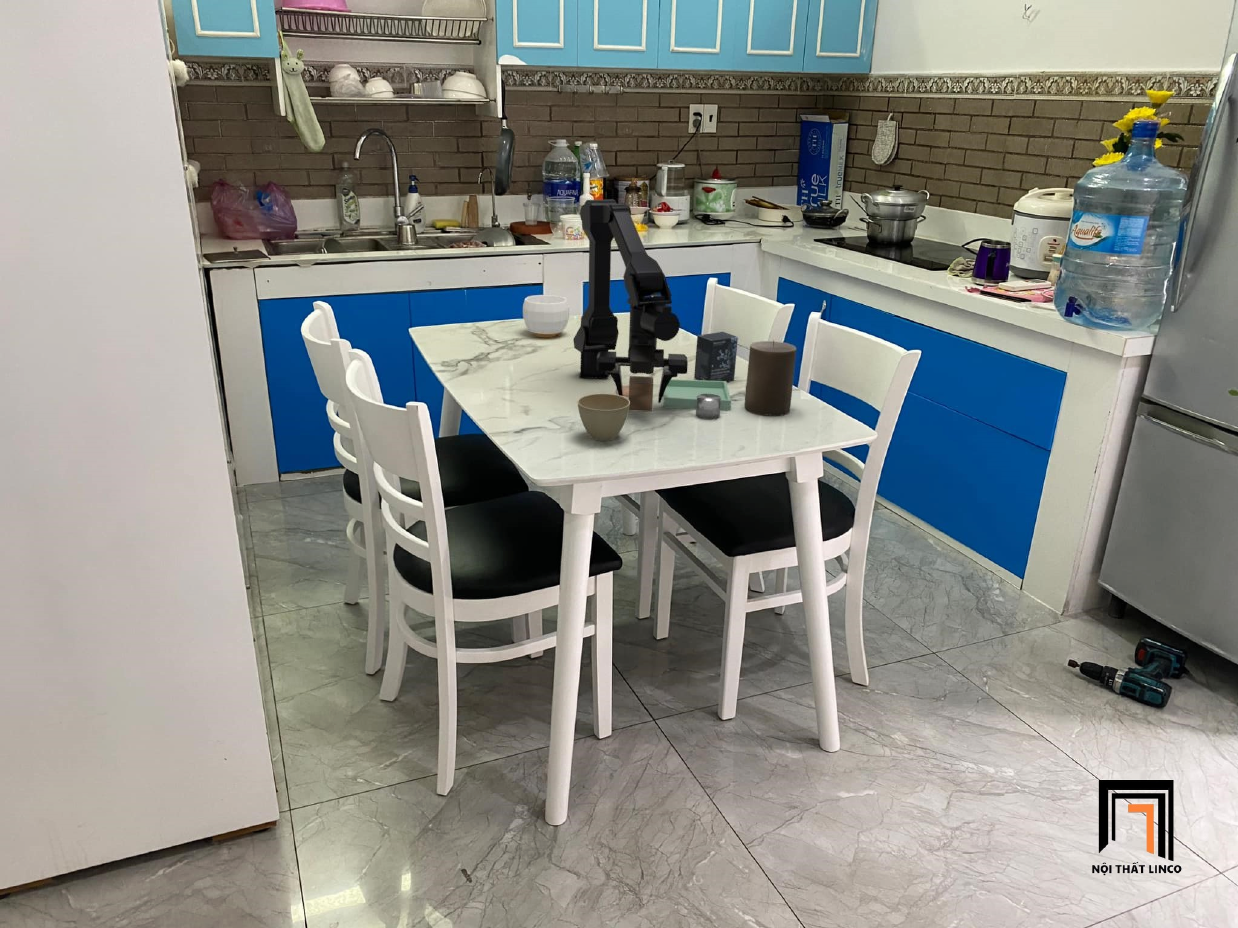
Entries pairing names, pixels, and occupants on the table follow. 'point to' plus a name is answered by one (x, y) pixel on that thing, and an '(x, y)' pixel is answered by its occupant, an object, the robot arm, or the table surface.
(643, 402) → the walnut block
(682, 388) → the tray
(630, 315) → the robot arm
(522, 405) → the table surface
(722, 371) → the box
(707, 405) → the grey tin
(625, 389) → the pink dome
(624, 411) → the flower pot
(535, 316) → the cup
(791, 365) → the pillar candle
